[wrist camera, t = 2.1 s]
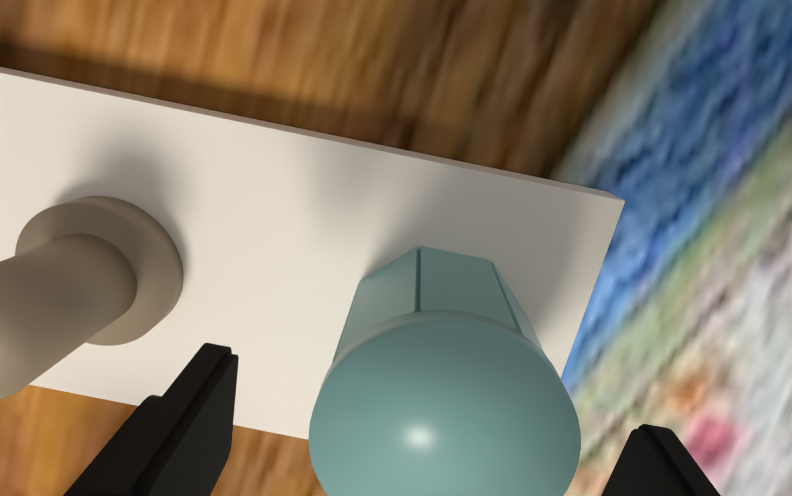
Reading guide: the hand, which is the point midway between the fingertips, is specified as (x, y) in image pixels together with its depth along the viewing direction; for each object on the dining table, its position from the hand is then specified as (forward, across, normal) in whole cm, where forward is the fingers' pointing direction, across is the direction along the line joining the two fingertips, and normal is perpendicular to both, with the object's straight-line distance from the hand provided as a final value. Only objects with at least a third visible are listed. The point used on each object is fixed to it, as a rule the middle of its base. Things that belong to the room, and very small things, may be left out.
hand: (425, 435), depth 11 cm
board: (+8, +6, +1) cm, 10 cm away
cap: (+6, -1, +1) cm, 6 cm away
